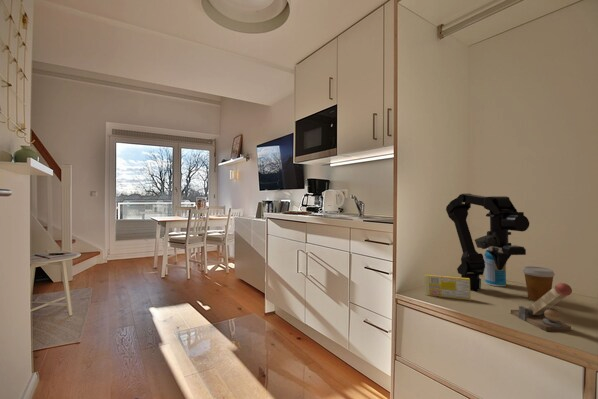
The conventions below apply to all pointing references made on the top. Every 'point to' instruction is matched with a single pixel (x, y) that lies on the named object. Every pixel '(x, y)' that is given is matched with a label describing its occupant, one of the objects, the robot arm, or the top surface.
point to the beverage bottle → (494, 272)
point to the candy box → (447, 287)
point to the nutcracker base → (542, 319)
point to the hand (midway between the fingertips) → (499, 269)
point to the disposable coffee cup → (538, 281)
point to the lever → (550, 299)
